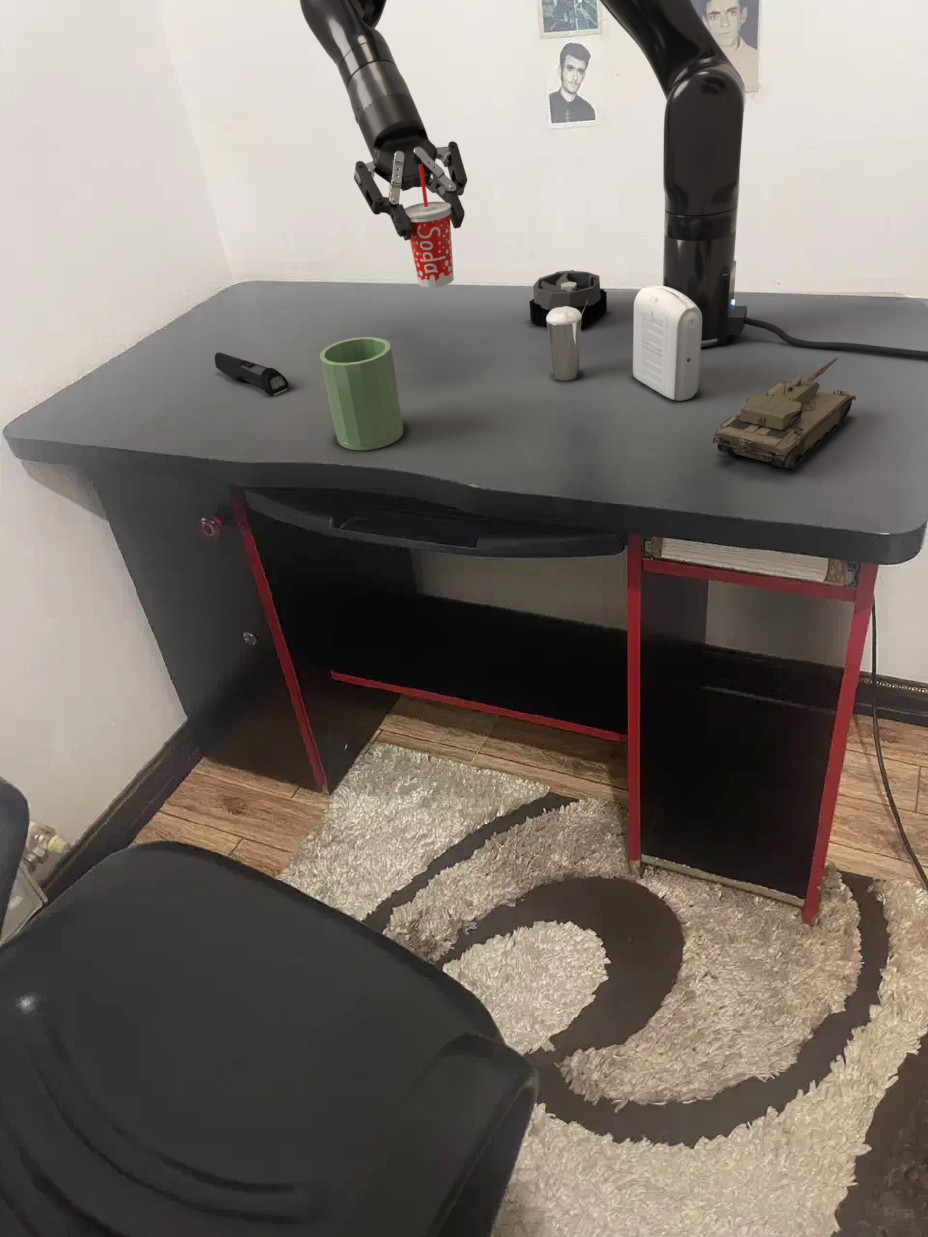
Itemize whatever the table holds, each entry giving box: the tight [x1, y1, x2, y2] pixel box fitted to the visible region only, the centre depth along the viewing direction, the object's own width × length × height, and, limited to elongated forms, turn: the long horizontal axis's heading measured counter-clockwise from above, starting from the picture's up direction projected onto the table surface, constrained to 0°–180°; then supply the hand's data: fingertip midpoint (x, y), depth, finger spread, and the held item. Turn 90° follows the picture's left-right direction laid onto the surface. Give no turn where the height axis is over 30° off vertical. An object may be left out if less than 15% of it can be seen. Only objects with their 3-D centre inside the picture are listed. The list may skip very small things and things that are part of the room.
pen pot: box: [319, 336, 405, 451], centre depth 112 cm, size 8×8×11 cm
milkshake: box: [546, 300, 588, 382], centre depth 120 cm, size 4×5×10 cm
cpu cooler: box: [528, 269, 608, 330], centre depth 138 cm, size 10×6×10 cm
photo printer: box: [632, 284, 702, 402], centre depth 113 cm, size 10×4×12 cm, turn 25°
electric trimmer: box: [214, 352, 290, 396], centre depth 133 cm, size 4×16×3 cm, turn 44°
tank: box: [711, 356, 857, 470], centre depth 100 cm, size 9×22×10 cm, turn 138°
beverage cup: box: [404, 164, 455, 288], centre depth 115 cm, size 6×6×14 cm
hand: (434, 229), depth 114 cm, fingers closed on beverage cup, 6 cm apart
